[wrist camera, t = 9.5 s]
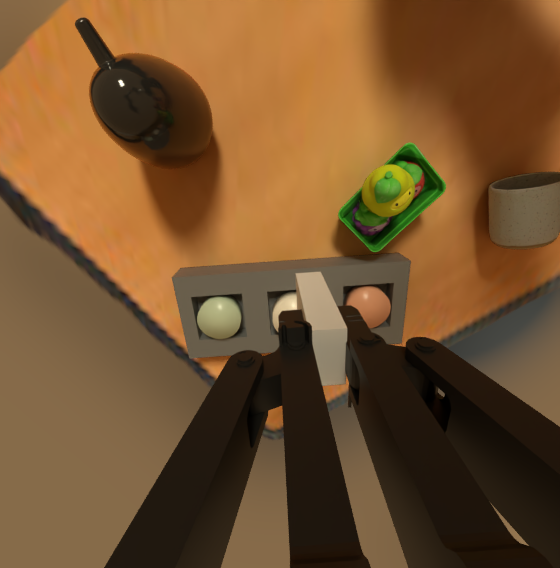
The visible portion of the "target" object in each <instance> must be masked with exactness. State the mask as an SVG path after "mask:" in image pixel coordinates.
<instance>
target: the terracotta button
mask: <svg viewBox="0 0 560 568" xmlns="http://www.w3.org/2000/svg"><path fill="white" fill-rule="evenodd" d="M346 305H351V306H353V307H355V308H356V309H358V311H359V312H360V314H361V316H362V317H363V319H364V320H365V322H366V324H367V325H368V327H369V328H374V327H377V326H379V325H380V324H382V323H383V322H384V321H385V320H386V319H387V317H388V316H389V313H390V309H391V305H390V301H389V299H388V297H387V296H386V295H385V294H384V293H383V292H382V291H381V289H380V288H379V287H377V286H376V285H373V284H369V285H357V286H355V287H353V288H352V289H351V290H349V292H348V293H347V294H346V296H345V299H344V306H346Z"/></svg>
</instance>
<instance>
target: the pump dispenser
mask: <svg viewBox="0 0 560 568" xmlns="http://www.w3.org/2000/svg"><path fill="white" fill-rule="evenodd" d="M75 26H76V28H77V30H78V32H79V33H80V35H81V37H82V38H83V40H84V42H85V44H86V45H87V47H88V49H89V50H90V52H91V54H92V56H93V57H94V59H95V61H96V63H97V64H98V66H99V67H98V68H97V69H96V70H95V72H94V73H93V76H92V78H91V81H90V86H89V97H90V103H91V107H92V110H93V112H94V115H95V117H96V119H97V120H98V122H99V124H100V125H101V127H102V128H103V129H104V131H105V132H106V133H107V134H108V136H109V137H110V138H111V139H112V140H113V141H114V142H115V143H116V144H118V145H119V146H120V147H121V148H122V149H123V150H125V151H126V152H127V153H129V154H130V155H132V156H133V157H135V158H136V159H138V160H140V161H142V162H144V163H147V164H149V165H152V166H155V167H158V168H163V169H179V168H183V167H186V166H189V165H191V164H192V163H194V162H195V161H197V160H198V159H199V158H200V157H201V156H202V155H203V153H204V152H205V150H206V149H207V147H208V145H209V142H210V139H211V135H212V127H213V121H212V113H211V109H210V105H209V102H208V100H207V98H206V96H205V94H204V92H203V90H202V89H201V87H200V86H199V85H198V83H197V82H196V81H195V80H194V79H193V78H192V77H191V76H190V75H189V74H188V73H186V72H185V71H184V70H182V69H181V68H179V67H178V66H176V65H174V64H172V63H170V62H168V61H166V60H164V59H161V58H159V57H156V56H152V55H148V54H141V53H127V54H121V55H117V56H115V57H114V55H113V54H112V53H111V51H110V50H109V48H108V47H107V45H106V44H105V42H104V41H103V40H102V38H101V37H100V35H99V34H98V32H97V31H96V29H95V28H94V26H93V25H92V24H91V22H90V21H89V20H88V19H87V18H80V19H78V20H77V21H76V22H75Z"/></svg>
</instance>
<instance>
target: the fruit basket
mask: <svg viewBox="0 0 560 568" xmlns="http://www.w3.org/2000/svg"><path fill="white" fill-rule="evenodd" d="M445 189H446V184H445V182H444V181H443V179H442V178H441V177H440V176H439V175H438V173H437V172H436V171H435V170H434V168H433V167H432V166H431V165H430V163H429V162H428V161H427V160H426V158H425V157H424V155H423V154H422V153H421V151H420V150H419V149H418V148H417V146H416V145H415V144H414V143H407V144H405V145H404V146H403V147H402V148H401V149H399V150H398V151H397V152H396V154H395V155H394V156H393V157H392V158H390V159H389V160H388V161H387V162H386V163H385V164H384V166H381V167H379V168H377V169H375V170H374V171H373V172H372V173H371V174H370V175H369V176H368V177H367V179H366V180H365V182H364V184H363V187H362V188H361V189H360V190H359V191H358V192H357V193H356V194H355V195H354V196H353V197H352V198H351V199H350V200H349V201H348V202H347V203H346V204H345V205H344V206H343V207H342V208H341V209H340V210H339V213H338V216H339V219H340V220H341V221H342V222H343V223H344V224H345V225H346V226H347V227H348V228H349V229H350V230H351V231H352V232H353V233H354V234H355V235H356V236H357V237H358V238H359V239H360V240H361V241H362V242H363V243H364V244H365V245H366V246H367V247H368V249H369V250H371V251H372V252H378V251H380V250H381V249H382V248H383V247H384V246H386V245H387V244H388V243H389V242H390V241H391V240H392V239H393V238H394V237H395V236H396V235H397V234H399V233H400V232H401V231H402V230H403V229H404V228H405V227H406V226H407V225H409V224H410V223H411V222H412V221H413V220H414V219H415V218H416V217H417V216H418V215H420V214H421V213H422V212H423V211H424V210H425V209H426V208H427V207H428V206H430V205H431V204H432V203H433V202H434V201H435V200H436V199H438V198H439V197H440V196H441V195H442V194H443V193H444V191H445Z"/></svg>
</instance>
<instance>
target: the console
mask: <svg viewBox="0 0 560 568" xmlns="http://www.w3.org/2000/svg"><path fill="white" fill-rule="evenodd" d="M410 264H411V261H410V260H409V259H407V258H406V257H404V256H403V255H401V254H400V253H388V254H374V255H359V256H345V257H331V258H317V259H302V260H288V261H274V262H259V263H245V264H231V265H217V266H202V267H188V268H180V269H179V270H178V271H177V273H176V274H175V275H174V276H173V277H172V281H173V285H174V290H175V294H176V299H177V303H178V308H179V313H180V317H181V322H182V326H183V331H184V335H185V340H186V344H187V349H188V354H189V358H202V357H216V356H230V355H234V354H235V353H237V352H240V351H244V350H253V351H257V352H258V353H273V352H275V351H276V350H277V349H278V347H279V334H278V332H277V330H276V329H275V327H274V325H273V305H274V303H275V301H276V300H277V299H278V298H279V297H280V296H281V295H283V294H285V293H288V292H296V273H308V272H321V274H322V276H323V278H324V280H325V282H326V284H327V286H328V288H329V291H330V293H331V295H332V297H333V299H334V301H335V303H336V305H337V306H344V299H345V296H346V294H347V293H348V292H349V290H351V289H352V288H353V287H355V286H357V285H369V284H373V285H376V286H377V287H379V288H380V289H381V291H382V292H383V293H384V294H385V295H386V296H387V297H388V299H389V301H390V305H391V309H390V313H389V316H388V317H387V319H386V320H385V321H384V322H383V323H382V324H380V325H379V326H377V327H374V328H369V329H370V330H371V332H372V333H376V334H378V335H380V336H381V337H382V338H383V339H384V340H385V342H386V344H400V343H402V336H403V327H404V318H405V309H406V300H407V291H408V282H409V273H410ZM213 295H230V296H232V297H233V298H235V299H236V300H237V301H238V302H239V304H240V306H241V308H242V318H241V323H240V327H239V329H238V331H237V332H236V333H235V334H234V335H232V336H231V337H228V338H225V339H215V338H212V337H209V336H207V335H206V334H205V333H203V332H202V330H201V329H200V328H199V325H198V322H197V316H198V312H199V310H200V308H201V306H202V304H203V302H204V301H205V300H206V299H207V298H208V297H210V296H213Z"/></svg>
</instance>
